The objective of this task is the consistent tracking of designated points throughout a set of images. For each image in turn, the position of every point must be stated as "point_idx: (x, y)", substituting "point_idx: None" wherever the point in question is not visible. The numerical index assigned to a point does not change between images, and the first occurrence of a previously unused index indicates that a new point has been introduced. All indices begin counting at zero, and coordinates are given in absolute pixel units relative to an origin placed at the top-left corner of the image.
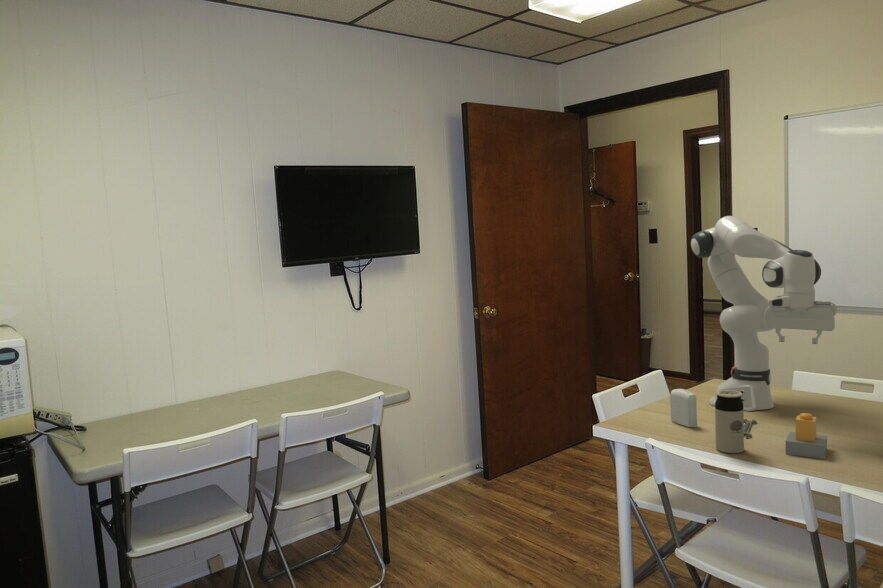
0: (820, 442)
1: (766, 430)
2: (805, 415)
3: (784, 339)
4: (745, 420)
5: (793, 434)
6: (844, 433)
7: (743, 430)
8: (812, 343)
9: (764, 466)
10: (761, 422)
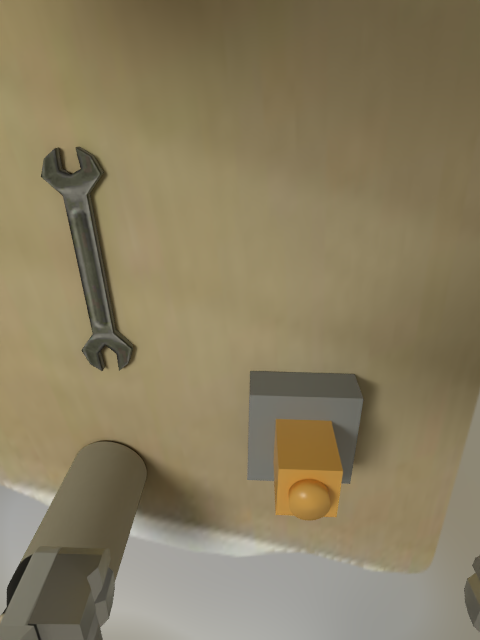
0: (341, 462)
1: (158, 252)
2: (308, 516)
3: (98, 578)
4: (56, 176)
5: (263, 418)
6: (430, 176)
7: (131, 519)
8: (470, 600)
9: (214, 536)
10: (115, 142)
